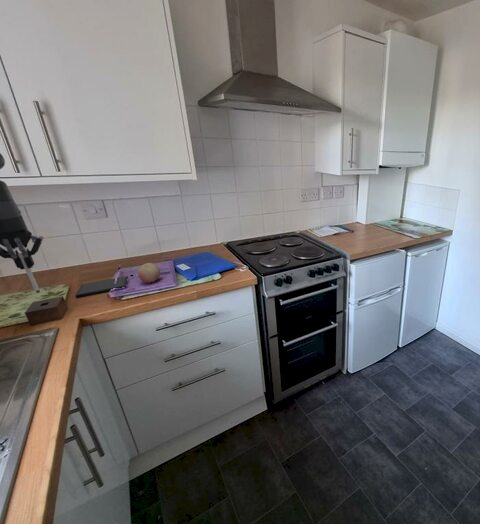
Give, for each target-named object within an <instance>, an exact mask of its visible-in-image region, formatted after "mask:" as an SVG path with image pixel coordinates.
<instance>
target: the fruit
mask: <svg viewBox="0 0 480 524" xmlns="http://www.w3.org/2000/svg"><path fill="white" fill-rule="evenodd" d="M137 276H138V278H139V280H140V281H142V282H143V283H146V284H151V282H152V283H154V282H155V280H156V281H157V280H158V279H159V278H160V276H161V269H160V267H159V266H158V265H156V264H155V263H153V262H145V263H144V264H142V265H141V266H140V267H139V269H138V271H137Z"/></svg>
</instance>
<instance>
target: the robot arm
mask: <svg viewBox="0 0 480 524" xmlns="http://www.w3.org/2000/svg"><path fill="white" fill-rule="evenodd" d="M5 165H6V160H5V158H4V155H3V154H2V153H1V152H0V170H2V169H3V168H4V166H5ZM30 240H31V243H33V245H32V247H31V249H30V245H29V243H30ZM43 241H44V236H41V235H39V236H38V235H34V234H33V233H32V232H31V231H29V229H28V227H27V224H26V222H25V219H24V217H23V215H22V211H21V210H20V208H19V206H18V204H17V203H16V202H15V200H14V197H13V195H12V192H11V191H10V188H9V186H8V185H7V183H6V182H5V181H3V180H2V179H1V180H0V245H1V246H2V247H1V246H0V257H1V258H2V259H12V260H13V262H14V264H15V266H16V268H17V269H19V270H25V268H24V266H23V264H22V262H21V260H20V258H19V256H18V254H19V253H22V255H23V257H24V258H23V259H24V261H25V263H26V265H27V267H28V268H30V269H32V268H33V267H34V266H35V260H34V259H33V257H32V256H35V255H36V254H37V253H38V251H39V250H40V247H41V245H42V243H43ZM3 247H4V248H3Z"/></svg>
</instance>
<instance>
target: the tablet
mask: <svg viewBox="0 0 480 524" xmlns="http://www.w3.org/2000/svg"><path fill="white" fill-rule="evenodd" d="M115 278H117V282H116V284H115V283H114V282H115ZM115 278H108V279H104V280H98V281H92V282H86V283H82V284H80V285H79V286H80V287H79V289H78V290H77V292H76V294H75V298H76V299H79V298H84V297H91V296H95V295H96V296H97V295H100V294H105V293H110V292H109V291H110V290H111V289H113V288H122V287H126V283H127V279H128V278H129V276H128V275H125V276H120V277H115ZM128 280H129V279H128ZM127 284H128V283H127ZM126 288H127V287H126Z"/></svg>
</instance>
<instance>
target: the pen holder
mask: <svg viewBox="0 0 480 524" xmlns="http://www.w3.org/2000/svg"><path fill="white" fill-rule="evenodd" d="M68 309H69V307H68V305H67V302H66V300H65V298H64V296H63V295H62V296H57V297H51V298H46V299H45V298H44V299H41V300H35V301H32V302H31V304H29V306H28V307H27V309H26V310H25V311H24V315H25V318H26V319H27V321H28V323H29V325H30V326H35V325H40V324H45V323H50V322H53V321H54V322H55V321H58V319H59V320H62V319H63V318H64V316H65V314H66V312H67V311H68Z"/></svg>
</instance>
